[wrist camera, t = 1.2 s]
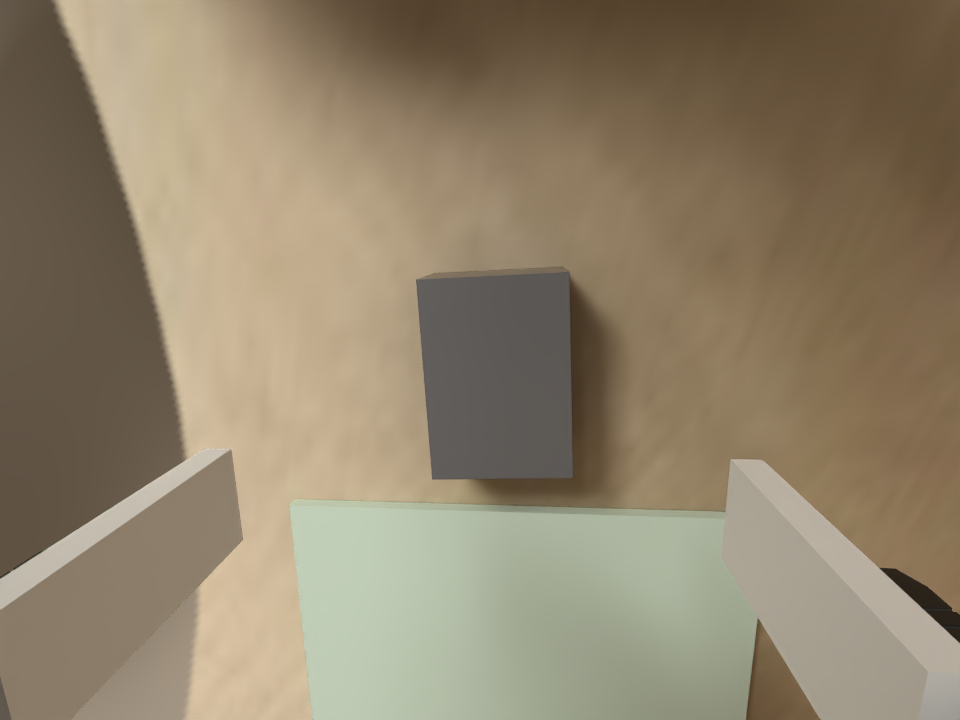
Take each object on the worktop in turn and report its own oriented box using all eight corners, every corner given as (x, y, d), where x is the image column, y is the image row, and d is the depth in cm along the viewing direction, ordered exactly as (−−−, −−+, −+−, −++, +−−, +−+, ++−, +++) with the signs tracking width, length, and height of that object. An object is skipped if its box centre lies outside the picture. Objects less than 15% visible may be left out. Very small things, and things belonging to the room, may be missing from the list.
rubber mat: (295, 499, 33) (289, 505, 32) (763, 512, 30) (769, 520, 29) (322, 756, 37) (317, 767, 36) (731, 787, 34) (736, 800, 34)
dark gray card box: (435, 272, 29) (416, 279, 24) (562, 266, 28) (569, 272, 23) (447, 442, 31) (432, 479, 26) (565, 440, 30) (572, 478, 26)
